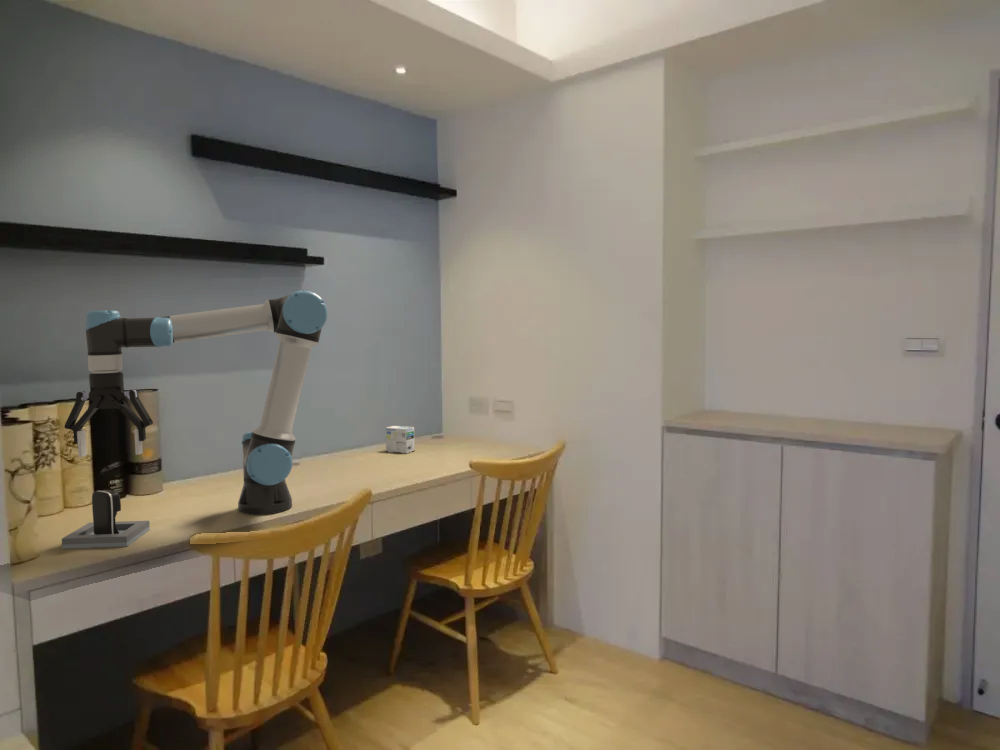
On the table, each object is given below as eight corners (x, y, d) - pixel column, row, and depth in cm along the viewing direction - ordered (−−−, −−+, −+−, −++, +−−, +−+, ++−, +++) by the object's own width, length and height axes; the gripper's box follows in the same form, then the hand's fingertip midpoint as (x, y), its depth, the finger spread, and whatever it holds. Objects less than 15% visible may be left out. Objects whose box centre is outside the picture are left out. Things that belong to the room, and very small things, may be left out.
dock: (149, 529, 184) (149, 520, 184) (126, 546, 170) (126, 536, 170) (90, 531, 182) (89, 522, 182) (62, 548, 169) (61, 538, 168)
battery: (124, 534, 176) (122, 490, 176) (110, 538, 173) (108, 493, 172) (107, 531, 180) (105, 487, 179) (92, 535, 176) (90, 490, 175)
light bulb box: (415, 451, 298) (414, 426, 298) (407, 454, 292) (406, 428, 291) (394, 449, 303) (393, 425, 302) (385, 452, 296) (385, 427, 296)
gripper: (163, 369, 180) (167, 450, 182) (60, 372, 177) (66, 454, 179) (152, 371, 173) (157, 455, 175) (45, 374, 170) (51, 459, 172)
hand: (111, 455), depth 177 cm, fingers open, 13 cm apart
